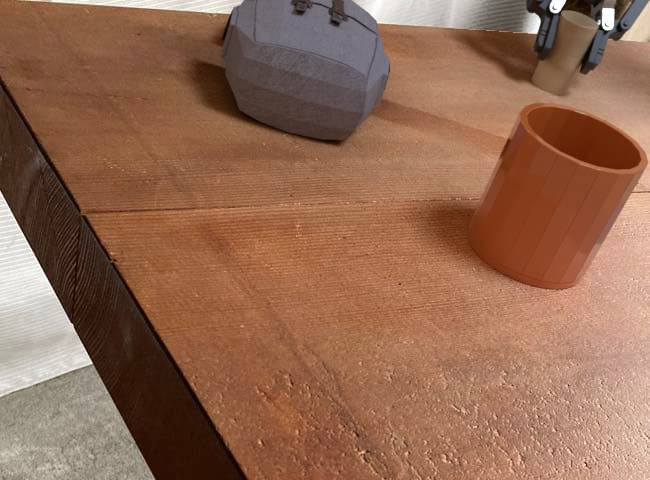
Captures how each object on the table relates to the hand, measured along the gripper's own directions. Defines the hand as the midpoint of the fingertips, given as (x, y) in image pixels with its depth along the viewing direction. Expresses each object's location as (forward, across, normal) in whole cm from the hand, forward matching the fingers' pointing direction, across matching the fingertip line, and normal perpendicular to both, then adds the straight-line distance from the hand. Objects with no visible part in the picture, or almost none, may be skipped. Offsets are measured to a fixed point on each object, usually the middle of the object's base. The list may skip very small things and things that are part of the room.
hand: (564, 63), depth 99 cm
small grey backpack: (+14, -25, -6) cm, 29 cm away
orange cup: (+26, -3, -18) cm, 32 cm away
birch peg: (+2, 0, +4) cm, 5 cm away
